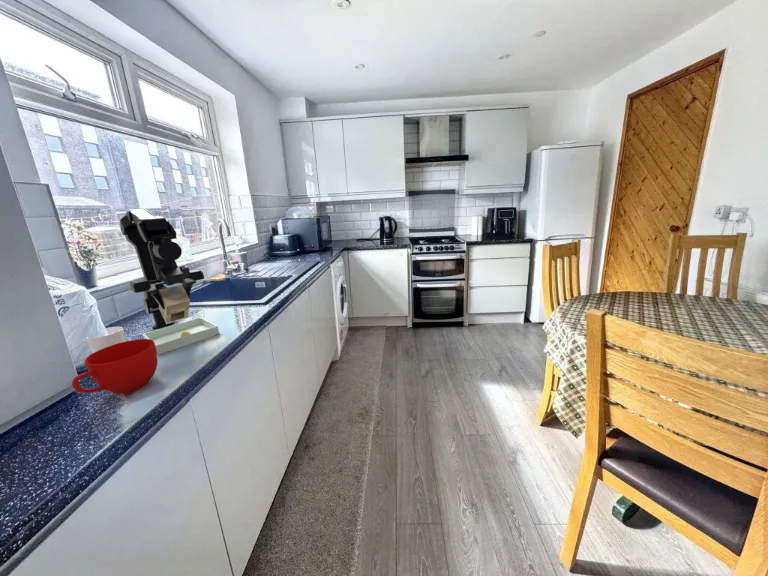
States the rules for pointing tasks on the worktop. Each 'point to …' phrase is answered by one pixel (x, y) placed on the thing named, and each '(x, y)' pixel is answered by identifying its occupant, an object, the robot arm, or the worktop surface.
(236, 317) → the worktop surface
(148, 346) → the ceramic cup
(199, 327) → the tray
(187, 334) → the ball
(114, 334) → the white cup
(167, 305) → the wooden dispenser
